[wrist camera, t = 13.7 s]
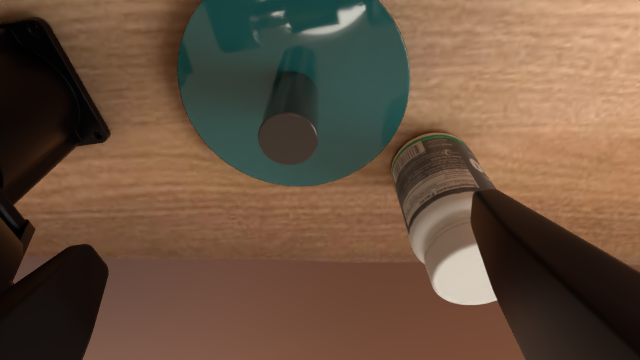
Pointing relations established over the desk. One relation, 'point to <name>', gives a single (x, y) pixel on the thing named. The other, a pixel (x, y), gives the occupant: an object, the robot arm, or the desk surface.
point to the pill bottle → (443, 214)
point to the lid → (294, 85)
